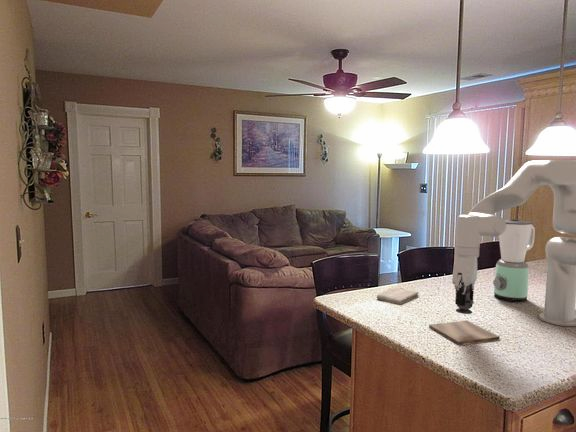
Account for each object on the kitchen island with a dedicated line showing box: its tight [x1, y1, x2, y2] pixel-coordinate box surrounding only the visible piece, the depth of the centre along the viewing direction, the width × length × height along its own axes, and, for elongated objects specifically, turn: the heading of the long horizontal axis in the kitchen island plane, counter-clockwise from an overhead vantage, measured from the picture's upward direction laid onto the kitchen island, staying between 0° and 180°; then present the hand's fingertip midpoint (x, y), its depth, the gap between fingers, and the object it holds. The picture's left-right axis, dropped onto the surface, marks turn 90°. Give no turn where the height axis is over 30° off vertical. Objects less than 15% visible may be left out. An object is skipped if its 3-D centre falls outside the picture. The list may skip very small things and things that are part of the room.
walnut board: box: [428, 320, 500, 346], centre depth 148 cm, size 16×16×1 cm
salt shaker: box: [454, 283, 475, 315], centre depth 146 cm, size 6×6×12 cm
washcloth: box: [376, 286, 419, 305], centre depth 189 cm, size 12×18×3 cm, turn 139°
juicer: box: [492, 218, 536, 303], centre depth 187 cm, size 19×13×35 cm
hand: (464, 302), depth 146 cm, fingers closed on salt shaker, 5 cm apart
